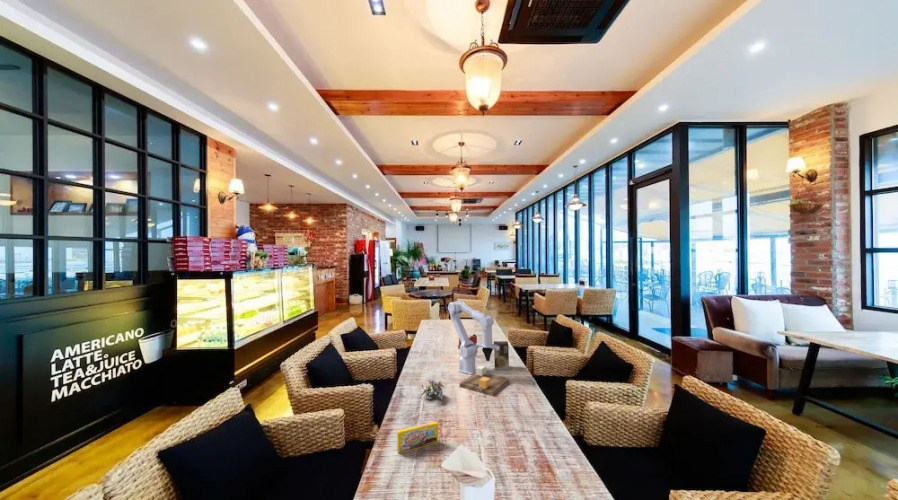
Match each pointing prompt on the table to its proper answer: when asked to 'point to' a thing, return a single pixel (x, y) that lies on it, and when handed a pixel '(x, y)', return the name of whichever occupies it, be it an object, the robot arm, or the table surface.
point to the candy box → (417, 437)
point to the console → (495, 386)
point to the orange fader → (484, 382)
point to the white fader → (480, 370)
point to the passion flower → (434, 389)
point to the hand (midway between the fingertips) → (487, 360)
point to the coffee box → (501, 355)
